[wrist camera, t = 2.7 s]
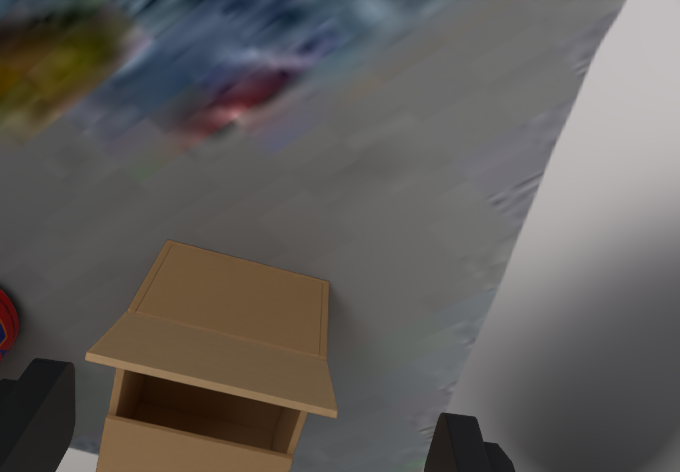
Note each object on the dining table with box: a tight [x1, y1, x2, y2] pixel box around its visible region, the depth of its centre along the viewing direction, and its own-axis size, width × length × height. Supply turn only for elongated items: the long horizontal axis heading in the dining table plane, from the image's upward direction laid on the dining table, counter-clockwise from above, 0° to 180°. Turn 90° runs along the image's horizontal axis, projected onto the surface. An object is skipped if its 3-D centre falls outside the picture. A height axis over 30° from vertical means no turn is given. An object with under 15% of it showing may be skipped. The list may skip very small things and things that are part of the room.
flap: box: [85, 312, 338, 418], centre depth 33 cm, size 7×12×1 cm
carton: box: [96, 240, 329, 472], centre depth 44 cm, size 15×12×10 cm
